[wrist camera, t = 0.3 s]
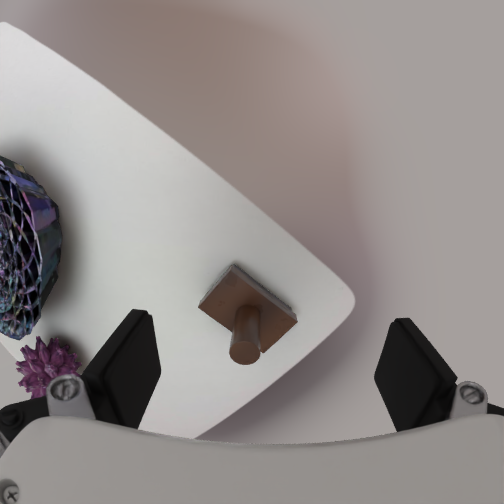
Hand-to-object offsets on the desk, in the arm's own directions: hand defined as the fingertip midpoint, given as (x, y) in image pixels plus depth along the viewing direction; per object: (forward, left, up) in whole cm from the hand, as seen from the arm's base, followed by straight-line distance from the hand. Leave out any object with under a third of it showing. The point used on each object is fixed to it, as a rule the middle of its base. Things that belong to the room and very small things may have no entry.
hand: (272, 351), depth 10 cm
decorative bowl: (+1, -36, -20) cm, 42 cm away
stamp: (+8, -1, -20) cm, 22 cm away
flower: (+21, -30, -20) cm, 42 cm away
